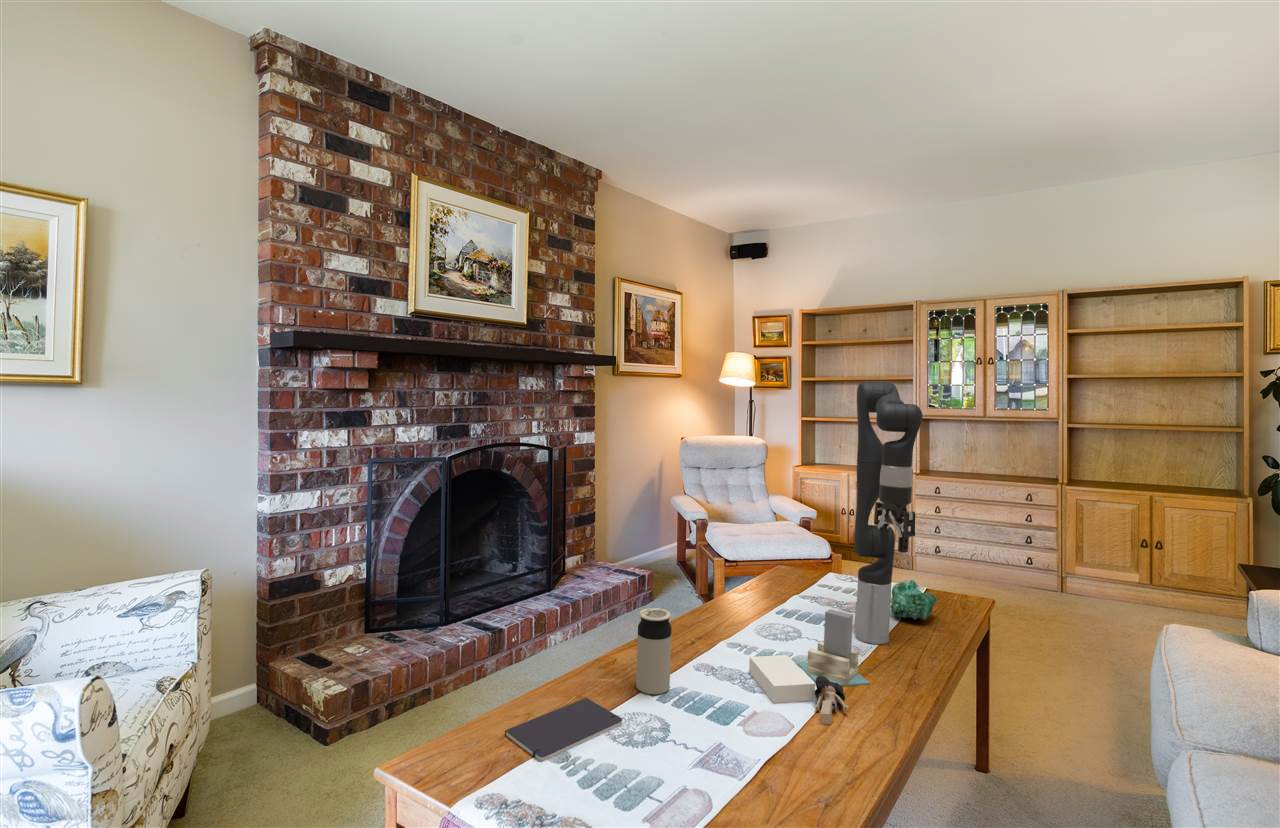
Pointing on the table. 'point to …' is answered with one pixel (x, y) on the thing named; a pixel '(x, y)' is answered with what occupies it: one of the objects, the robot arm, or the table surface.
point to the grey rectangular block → (838, 633)
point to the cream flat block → (781, 679)
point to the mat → (854, 681)
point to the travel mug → (653, 651)
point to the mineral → (911, 601)
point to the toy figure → (828, 698)
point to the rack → (832, 665)
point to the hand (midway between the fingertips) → (892, 547)
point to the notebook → (563, 728)
